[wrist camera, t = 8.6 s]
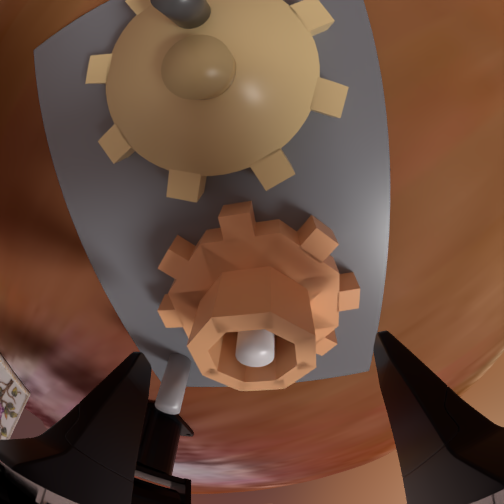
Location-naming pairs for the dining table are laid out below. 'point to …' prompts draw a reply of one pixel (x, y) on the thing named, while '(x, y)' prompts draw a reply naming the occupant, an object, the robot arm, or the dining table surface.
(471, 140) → the dining table surface
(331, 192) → the gear board
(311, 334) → the loose gear
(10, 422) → the decorative jar
